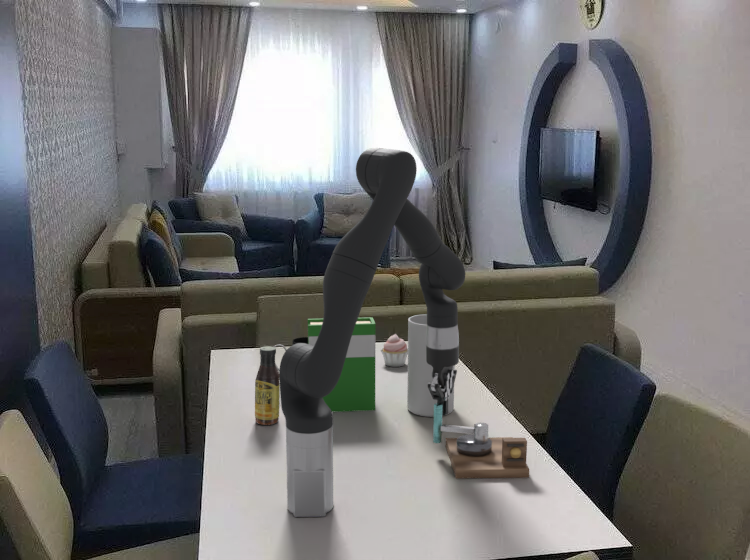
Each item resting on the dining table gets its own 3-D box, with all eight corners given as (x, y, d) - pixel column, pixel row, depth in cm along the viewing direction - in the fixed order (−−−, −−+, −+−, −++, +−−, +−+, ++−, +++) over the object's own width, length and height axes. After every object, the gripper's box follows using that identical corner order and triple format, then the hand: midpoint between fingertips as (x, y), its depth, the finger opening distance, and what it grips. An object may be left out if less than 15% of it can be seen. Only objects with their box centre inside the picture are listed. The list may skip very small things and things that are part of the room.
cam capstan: (493, 444, 186) (494, 403, 184) (489, 457, 178) (491, 415, 176) (435, 438, 189) (436, 398, 187) (430, 452, 181) (430, 410, 179)
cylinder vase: (425, 398, 224) (426, 312, 219) (462, 408, 216) (464, 319, 211) (398, 410, 214) (398, 320, 209) (436, 421, 206) (437, 327, 202)
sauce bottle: (250, 423, 204) (248, 349, 201) (264, 416, 210) (262, 343, 206) (271, 428, 201) (269, 352, 198) (285, 420, 207) (283, 346, 203)
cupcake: (414, 363, 257) (415, 333, 256) (400, 370, 250) (400, 339, 248) (390, 358, 262) (390, 329, 260) (375, 365, 255) (375, 335, 253)
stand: (529, 478, 173) (530, 443, 171) (456, 479, 172) (457, 444, 171) (511, 445, 191) (513, 413, 190) (445, 445, 191) (446, 414, 189)
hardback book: (309, 412, 213) (308, 325, 208) (308, 403, 220) (307, 318, 215) (375, 410, 214) (375, 323, 210) (372, 401, 222) (372, 317, 217)
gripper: (447, 353, 176) (447, 426, 180) (467, 337, 187) (467, 406, 191) (415, 349, 179) (416, 421, 183) (438, 334, 191) (438, 402, 194)
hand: (442, 414), depth 187 cm, fingers closed
